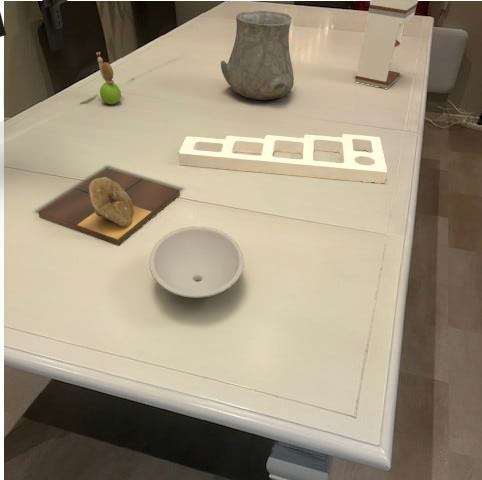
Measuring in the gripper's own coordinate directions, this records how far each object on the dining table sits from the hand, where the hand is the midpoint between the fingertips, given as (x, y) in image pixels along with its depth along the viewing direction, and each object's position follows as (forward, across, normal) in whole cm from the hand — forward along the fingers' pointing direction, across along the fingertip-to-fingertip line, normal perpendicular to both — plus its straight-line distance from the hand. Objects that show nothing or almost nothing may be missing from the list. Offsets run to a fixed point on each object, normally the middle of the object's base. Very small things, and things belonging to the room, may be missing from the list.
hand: (27, 43), depth 85 cm
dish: (+25, -44, +17) cm, 53 cm away
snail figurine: (+25, +15, -37) cm, 47 cm away
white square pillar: (+25, -43, -97) cm, 109 cm away
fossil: (+24, -22, +10) cm, 34 cm away
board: (+25, -18, +5) cm, 31 cm away
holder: (+25, -38, -32) cm, 56 cm away
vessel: (+25, -17, -65) cm, 72 cm away
